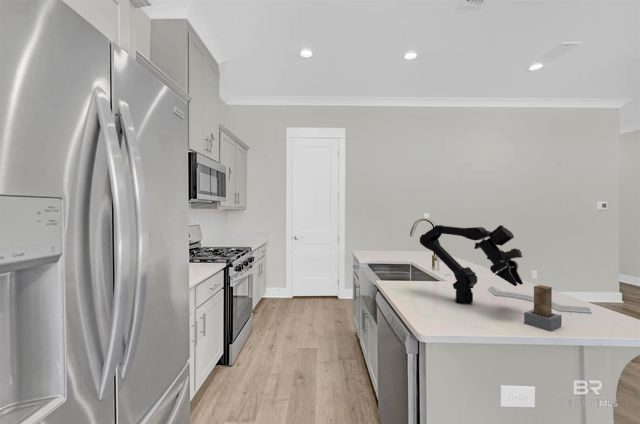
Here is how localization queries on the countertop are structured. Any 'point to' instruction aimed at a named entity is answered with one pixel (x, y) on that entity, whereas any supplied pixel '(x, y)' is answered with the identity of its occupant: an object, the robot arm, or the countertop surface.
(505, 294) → the molding
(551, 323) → the end cap
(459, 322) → the countertop surface
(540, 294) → the tall wooden block
